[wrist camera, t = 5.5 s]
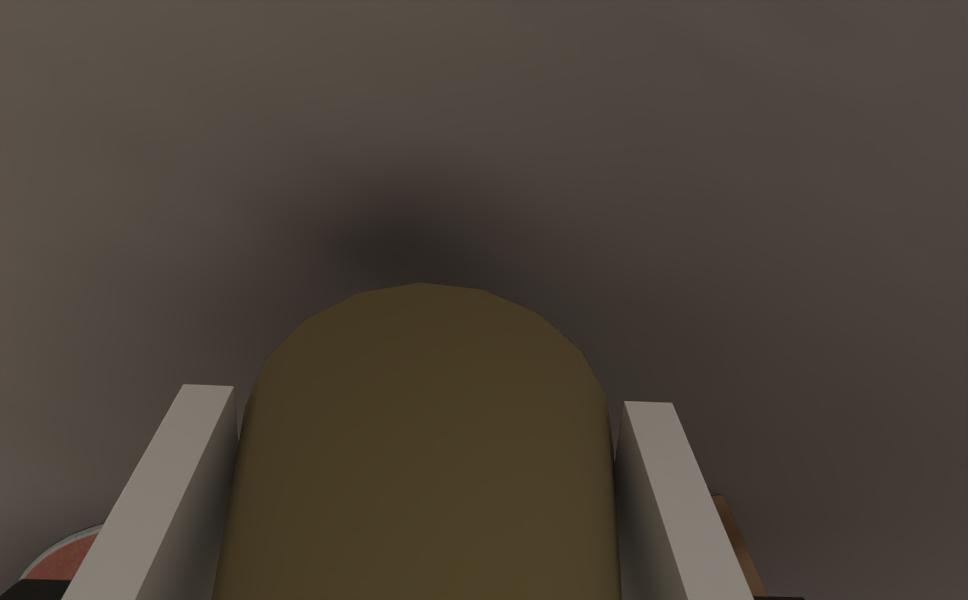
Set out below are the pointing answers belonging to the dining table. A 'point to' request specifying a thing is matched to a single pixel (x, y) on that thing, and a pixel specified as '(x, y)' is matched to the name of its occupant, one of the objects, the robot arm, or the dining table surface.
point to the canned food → (63, 557)
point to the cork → (423, 459)
